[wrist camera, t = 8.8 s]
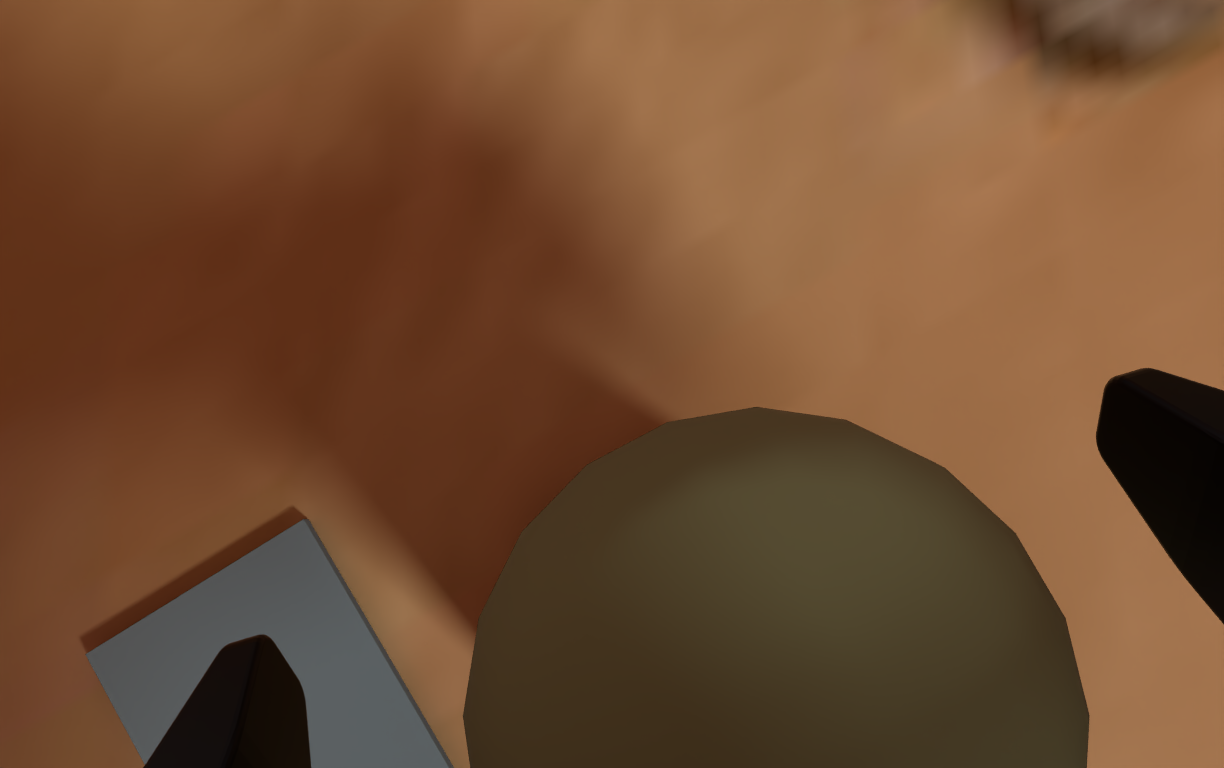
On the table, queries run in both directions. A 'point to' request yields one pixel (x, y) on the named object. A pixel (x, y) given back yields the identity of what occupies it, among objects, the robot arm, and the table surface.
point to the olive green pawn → (771, 614)
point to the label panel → (309, 641)
